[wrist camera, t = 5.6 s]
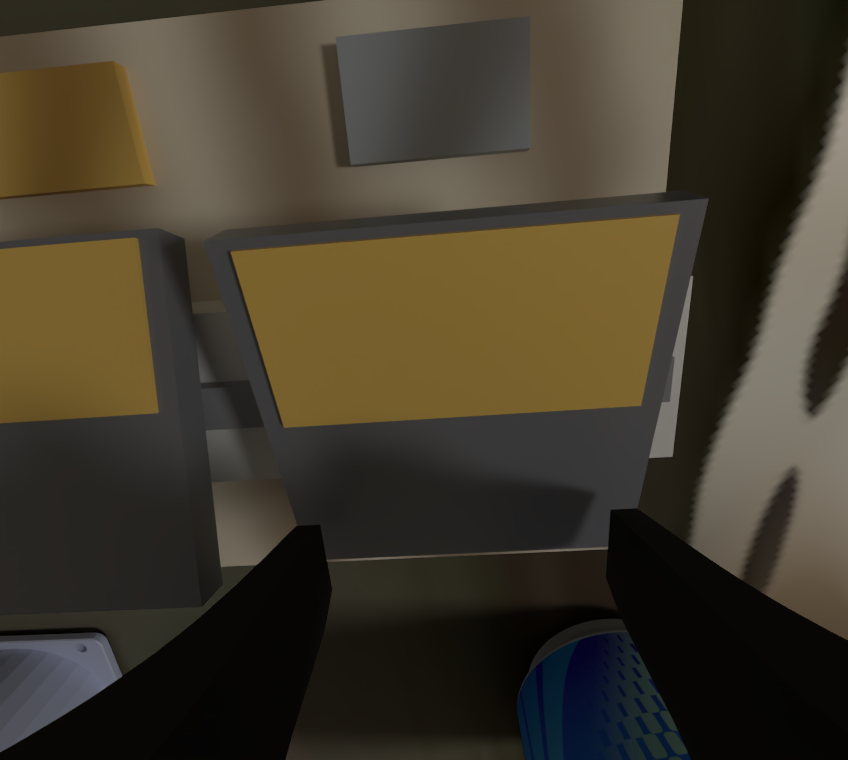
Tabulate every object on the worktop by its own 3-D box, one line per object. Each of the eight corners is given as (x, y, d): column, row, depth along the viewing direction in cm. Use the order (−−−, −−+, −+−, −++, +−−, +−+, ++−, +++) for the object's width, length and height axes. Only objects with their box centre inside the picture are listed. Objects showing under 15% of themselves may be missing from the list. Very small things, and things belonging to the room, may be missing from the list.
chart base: (79, 556, 19) (50, 583, 17) (-118, 67, 13) (-186, 47, 12) (622, 531, 18) (639, 557, 16) (666, -19, 12) (697, -53, 11)
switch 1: (-95, 598, 12) (-150, 623, 11) (-151, 266, 11) (-216, 258, 10) (222, 584, 12) (199, 609, 10) (184, 238, 11) (154, 226, 10)
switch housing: (45, 441, 17) (-78, 506, 13) (-5, 314, 15) (-163, 344, 11) (619, 406, 16) (681, 465, 12) (628, 265, 14) (705, 278, 10)
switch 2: (316, 532, 13) (307, 564, 12) (224, 229, 9) (200, 242, 8) (615, 517, 13) (630, 549, 12) (679, 191, 8) (712, 199, 7)
